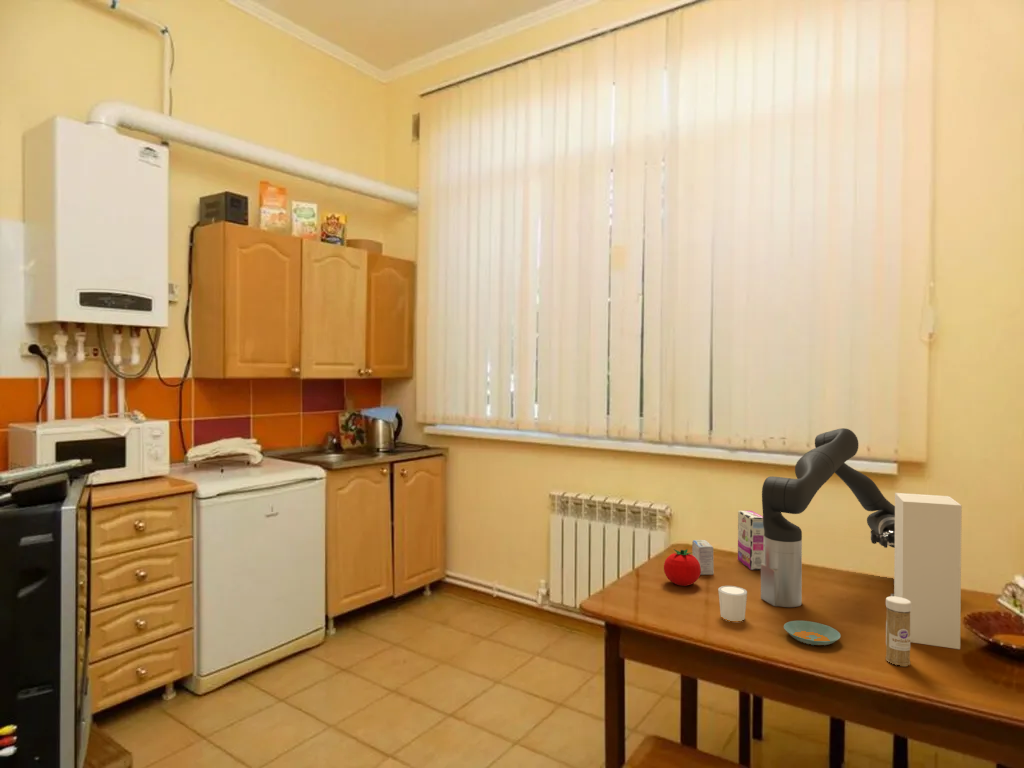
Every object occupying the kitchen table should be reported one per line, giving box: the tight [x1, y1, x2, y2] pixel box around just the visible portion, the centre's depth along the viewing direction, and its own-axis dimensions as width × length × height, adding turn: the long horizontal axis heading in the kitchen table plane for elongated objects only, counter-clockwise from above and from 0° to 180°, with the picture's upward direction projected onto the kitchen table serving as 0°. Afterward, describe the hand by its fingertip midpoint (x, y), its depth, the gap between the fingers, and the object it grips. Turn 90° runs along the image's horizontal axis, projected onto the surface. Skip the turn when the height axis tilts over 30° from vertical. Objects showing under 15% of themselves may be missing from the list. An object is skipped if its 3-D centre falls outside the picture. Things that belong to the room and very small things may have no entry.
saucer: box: [783, 620, 842, 646], centre depth 143 cm, size 12×12×2 cm
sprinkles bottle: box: [885, 595, 911, 667], centre depth 131 cm, size 5×5×14 cm
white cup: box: [717, 585, 748, 622], centre depth 155 cm, size 7×7×7 cm
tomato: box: [663, 548, 701, 587], centre depth 179 cm, size 10×10×10 cm
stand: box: [893, 492, 963, 650], centre depth 144 cm, size 11×11×32 cm
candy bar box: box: [737, 510, 764, 571], centre depth 197 cm, size 11×5×16 cm, turn 1°
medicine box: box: [691, 539, 715, 576], centre depth 191 cm, size 8×4×9 cm, turn 179°
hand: (904, 545), depth 169 cm, fingers open, 8 cm apart
